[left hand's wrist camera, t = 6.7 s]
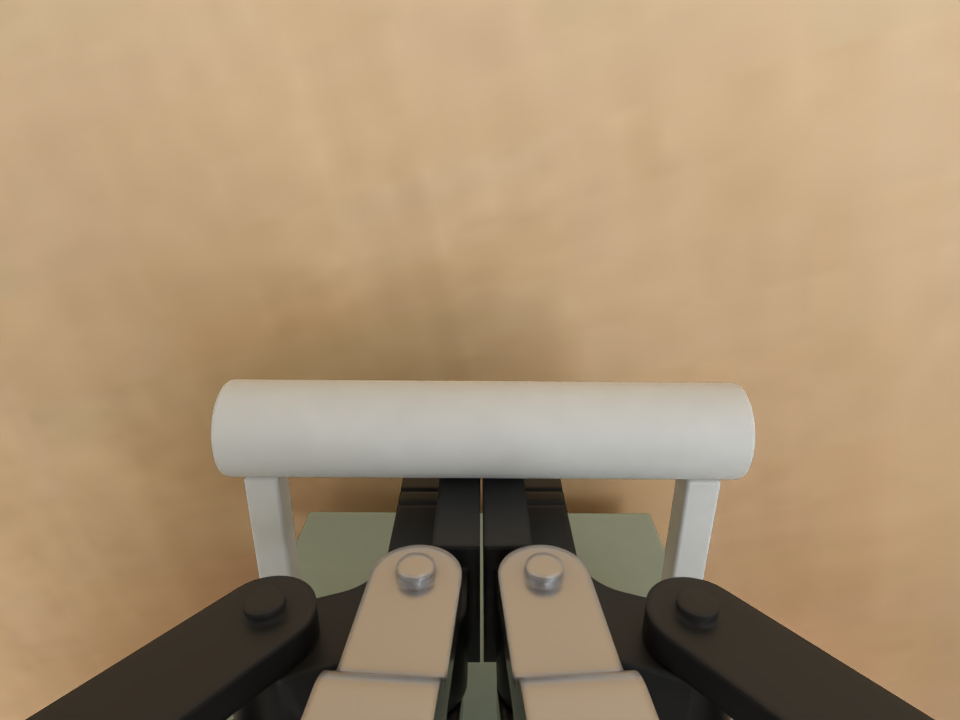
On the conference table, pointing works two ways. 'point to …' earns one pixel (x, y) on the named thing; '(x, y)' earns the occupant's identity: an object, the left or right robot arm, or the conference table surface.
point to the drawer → (481, 468)
